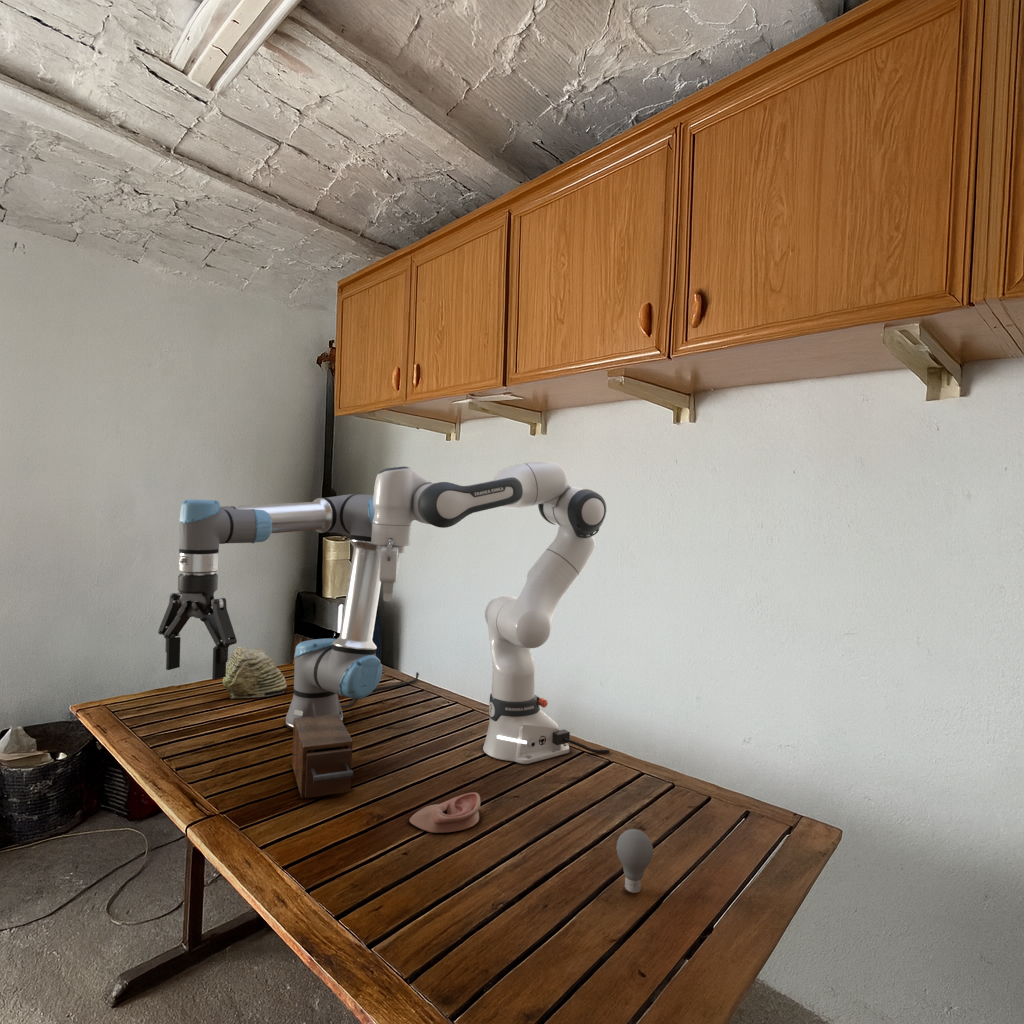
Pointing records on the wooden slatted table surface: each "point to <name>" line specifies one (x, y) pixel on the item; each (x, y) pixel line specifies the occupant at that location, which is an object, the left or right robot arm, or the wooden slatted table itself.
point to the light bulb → (634, 857)
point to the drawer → (328, 771)
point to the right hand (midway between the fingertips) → (388, 597)
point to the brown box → (316, 741)
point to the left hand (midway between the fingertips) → (195, 673)
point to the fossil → (252, 674)
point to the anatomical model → (449, 814)
